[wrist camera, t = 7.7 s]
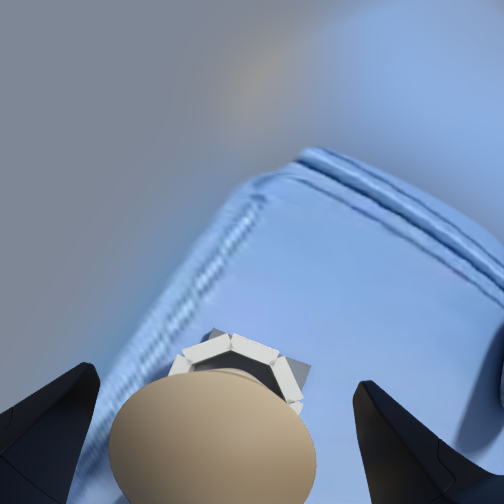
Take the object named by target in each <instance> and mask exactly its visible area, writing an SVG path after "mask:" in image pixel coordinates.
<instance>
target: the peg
mask: <svg viewBox="0 0 504 504" xmlns="http://www.w3.org/2000/svg"><path fill="white" fill-rule="evenodd" d="M108 447H109V459H110V465H111V468H112V471H113V474H114V477H115V479H116V481H117V483H118V485H119V487H120V489H121V491H122V492H123V494H124V495H125V497H126V498H127V499H128V500H129V501H130V503H131V504H304V502H305V501H306V499H307V498H308V495H309V493H310V491H311V489H312V486H313V483H314V479H315V474H316V453H315V449H314V444H313V441H312V439H311V436H310V434H309V431H308V430H307V428H306V426H305V424H304V423H303V421H302V420H301V418H300V417H299V416H298V415H297V413H296V412H295V411H294V410H293V409H292V408H291V407H290V406H289V405H288V404H287V403H286V402H285V401H284V400H282V399H281V398H280V397H278V396H277V395H276V394H275V393H273V392H272V391H271V390H270V389H268V388H267V387H266V386H265V385H263V384H262V383H261V382H260V381H259V380H257V379H256V378H255V377H254V376H252V375H251V374H250V373H248V372H246V371H244V370H241V369H237V368H221V369H213V370H205V371H195V372H187V373H179V374H174V375H171V376H167V377H163V378H161V379H158V380H156V381H154V382H151V383H150V384H148V385H146V386H144V387H143V388H141V389H140V390H138V391H137V392H136V393H135V394H133V395H132V396H131V397H130V398H129V399H128V400H127V401H126V402H125V403H124V405H123V406H122V407H121V409H120V410H119V412H118V413H117V415H116V417H115V420H114V422H113V424H112V428H111V431H110V436H109V444H108Z"/></svg>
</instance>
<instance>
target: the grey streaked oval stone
mask: <svg viewBox="0 0 504 504" xmlns="http://www.w3.org/2000/svg"><path fill="white" fill-rule="evenodd" d="M500 401H501V404H502V407H503V409H504V363H503V370H502V376H501V386H500Z"/></svg>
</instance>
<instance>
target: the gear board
mask: <svg viewBox="0 0 504 504" xmlns="http://www.w3.org/2000/svg"><path fill="white" fill-rule="evenodd" d="M182 351H183V353H184V355H180V354H177V356H176V359H175V361H174V363H173V365H172V367H171V370H170V372H169V374H168V376H171V375H174V374H179V373H187V372H195V371H205V370H213V369H221V368H237V369H241V370H244V371H246V372H248V373H250V374H251V375H252V376H254V377H255V378H256V379H257V380H259V381H260V382H261V383H262V384H263V385H265V386H266V387H267V388H268V389H270V390H271V391H272V392H273V393H275V394H276V395H277V396H278V397H280V398H281V399H282V400H284V401H285V402H286V403H287V404H288V405H289V406H290V407H291V408H292V409H293V410H294V411H295V412H296V413H297V415H298V416H299V414H300V412H301V410H302V407H303V405H304V404H303V403H301V402H299V400H301V399H303V398H304V397H303V395H302V393H301V391H302V388H303V386H304V383H305V381H306V378H307V375H308V373H309V370H310V368H311V365H308V364H305V363H302V362H299V361H296V360H294V359H291V358H288V357H285V356H283V355H280V354H279V352H280V351H278V350H275V349H273V348H270V347H267V346H265V345H262V344H260V343H257V342H254V341H252V340H249V339H247V338H244V337H242V336H240V335H237V334H235V333H234V334H233V336H232V335H229V334H228V333H224V332H222V331H220V330H217V329H215V328H213V329H212V331H211V334H210V336H209V338H208V340H207V341H205V342H202V343H200V344H197V345H194V346H191V347H188V348H186V349H183V350H182Z"/></svg>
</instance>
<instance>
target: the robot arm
mask: <svg viewBox="0 0 504 504" xmlns="http://www.w3.org/2000/svg"><path fill="white" fill-rule="evenodd" d="M99 388H100V379H99V376H98V374H97V372H96V369H95V367H94V365H93V364H90V363H86V362H82V363H80V364H79V365H77V366H76V367H74V368H72V369H71V370H69V371H68V372H66V373H65V374H63V375H61V376H60V377H58V378H57V379H55V380H54V381H52V382H51V383H49V384H47V385H46V386H44V387H43V388H41V389H40V390H38V391H36V392H35V393H33V394H31V395H30V396H28V397H27V398H25V399H24V400H22V401H21V402H19V403H17V404H16V405H14V407H11V408H9V409H8V410H6V411H4V412H3V413H1V414H0V504H66V501H67V497H68V493H69V490H70V486H71V482H72V479H73V475H74V472H75V469H76V465H77V462H78V459H79V456H80V452H81V449H82V446H83V443H84V440H85V437H86V434H87V432H88V429H89V426H90V423H91V420H92V416H93V412H94V408H95V404H96V400H97V396H98V392H99ZM353 409H354V416H355V424H356V433H357V439H358V444H359V448H360V452H361V457H362V461H363V465H364V469H365V474H366V478H367V483H368V488H369V492H370V497H371V502H372V504H504V475H496V474H492V473H490V472H488V471H486V470H484V469H483V468H481V467H479V466H478V465H476V464H475V463H473V462H471V461H470V460H468V459H467V458H465V457H464V456H462V455H461V454H459V453H458V452H456V451H455V450H454V449H452V448H451V447H450V446H449V445H447V444H446V443H445V442H444V441H442V440H441V439H440V438H438V436H436V435H435V434H434V433H433V432H432V431H430V430H429V429H428V428H427V427H426V426H425V425H423V424H422V423H421V422H420V421H419V420H417V419H416V418H415V417H414V416H413V415H412V414H410V413H409V412H408V411H407V410H406V409H405V408H403V407H402V406H401V405H400V404H399V403H398V402H396V401H395V400H394V399H393V398H392V397H391V396H389V395H388V394H387V393H386V392H385V391H384V390H383V389H381V388H380V387H379V386H378V385H377V384H376V383H374V382H373V381H371V380H367V381H361V382H360V383H359V384H358V387H357V389H356V391H355V393H354V396H353Z"/></svg>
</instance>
